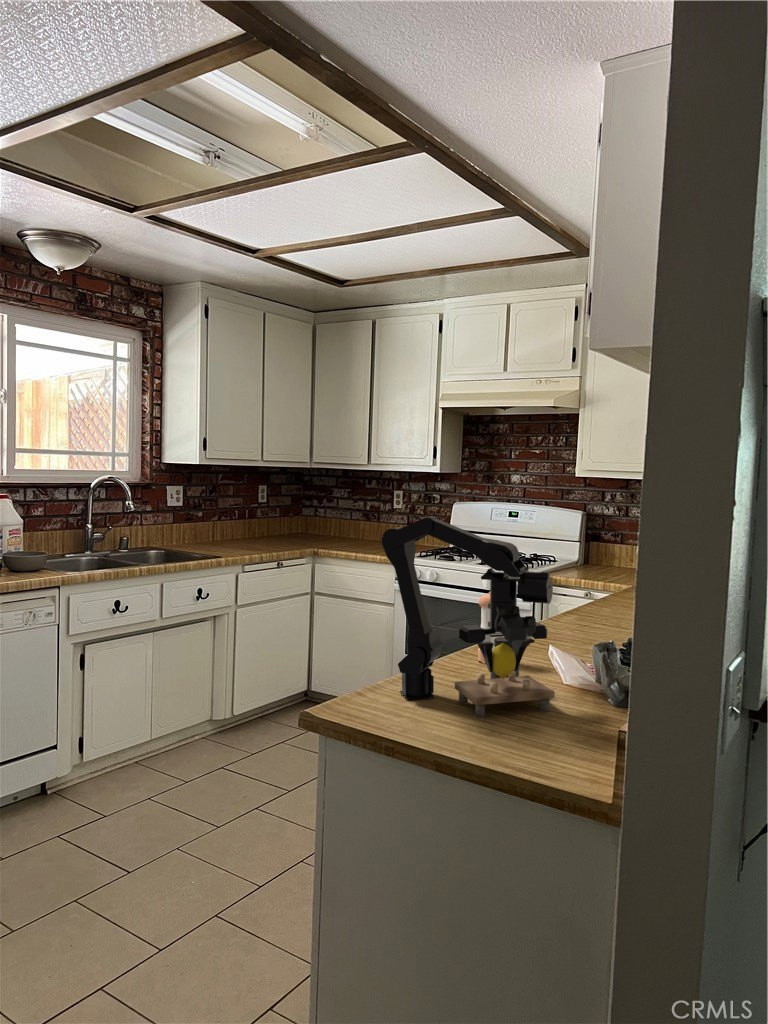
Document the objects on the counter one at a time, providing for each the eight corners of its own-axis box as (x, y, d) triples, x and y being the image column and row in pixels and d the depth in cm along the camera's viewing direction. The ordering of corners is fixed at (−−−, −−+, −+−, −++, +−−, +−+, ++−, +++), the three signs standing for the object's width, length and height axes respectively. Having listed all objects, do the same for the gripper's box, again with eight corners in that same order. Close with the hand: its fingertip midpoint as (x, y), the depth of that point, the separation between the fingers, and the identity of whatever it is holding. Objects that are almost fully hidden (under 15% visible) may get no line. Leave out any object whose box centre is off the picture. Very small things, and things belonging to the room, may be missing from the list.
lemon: (498, 674, 173) (498, 639, 173) (520, 678, 169) (520, 642, 169) (485, 679, 169) (485, 643, 168) (507, 683, 165) (507, 647, 165)
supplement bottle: (497, 683, 188) (497, 634, 188) (523, 687, 185) (523, 637, 184) (485, 690, 182) (485, 640, 182) (513, 694, 179) (513, 643, 178)
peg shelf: (476, 719, 161) (476, 688, 161) (454, 701, 173) (454, 673, 173) (554, 711, 165) (554, 682, 165) (528, 694, 178) (528, 667, 178)
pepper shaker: (504, 658, 213) (504, 589, 212) (505, 665, 205) (505, 594, 204) (477, 658, 213) (477, 589, 212) (478, 664, 206) (478, 593, 205)
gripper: (477, 609, 158) (476, 683, 159) (559, 604, 163) (558, 677, 164) (458, 600, 169) (458, 670, 170) (536, 596, 173) (535, 664, 174)
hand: (503, 670), depth 169 cm, fingers closed on lemon, 5 cm apart
